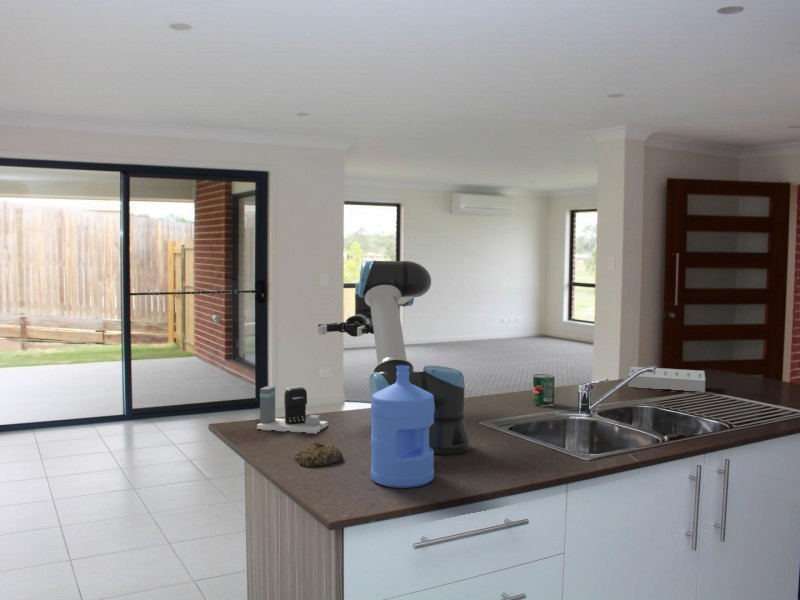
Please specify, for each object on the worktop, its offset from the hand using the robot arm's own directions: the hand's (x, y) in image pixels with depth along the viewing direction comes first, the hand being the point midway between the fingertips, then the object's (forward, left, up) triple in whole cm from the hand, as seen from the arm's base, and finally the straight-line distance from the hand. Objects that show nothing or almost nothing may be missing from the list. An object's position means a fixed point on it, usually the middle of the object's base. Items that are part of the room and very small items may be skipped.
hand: (338, 331), depth 230 cm
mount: (-14, +11, -30) cm, 35 cm away
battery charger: (-14, +10, -29) cm, 33 cm away
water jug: (-55, -35, -30) cm, 72 cm away
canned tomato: (+42, -66, -30) cm, 84 cm away
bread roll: (-44, -9, -31) cm, 55 cm away
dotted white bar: (+90, -115, -31) cm, 150 cm away
